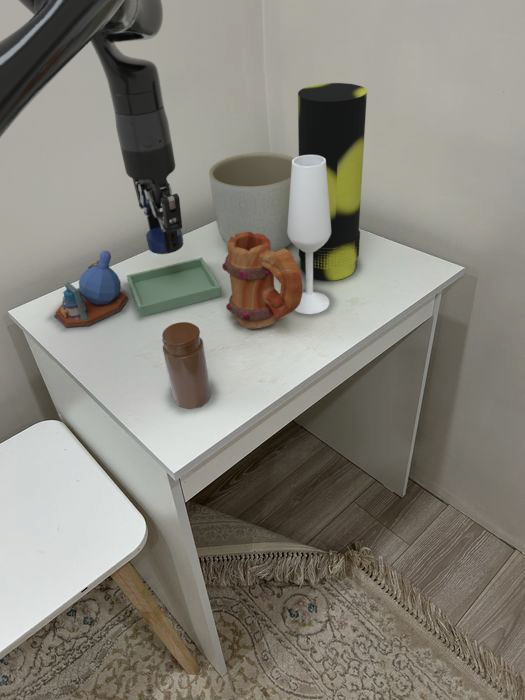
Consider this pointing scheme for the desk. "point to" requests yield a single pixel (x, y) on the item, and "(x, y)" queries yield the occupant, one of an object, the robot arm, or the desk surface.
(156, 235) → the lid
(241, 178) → the planter
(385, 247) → the desk surface
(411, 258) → the desk surface
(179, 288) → the tray
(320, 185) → the champagne flute
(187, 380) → the jar
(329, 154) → the container
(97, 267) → the model
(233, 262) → the mug
